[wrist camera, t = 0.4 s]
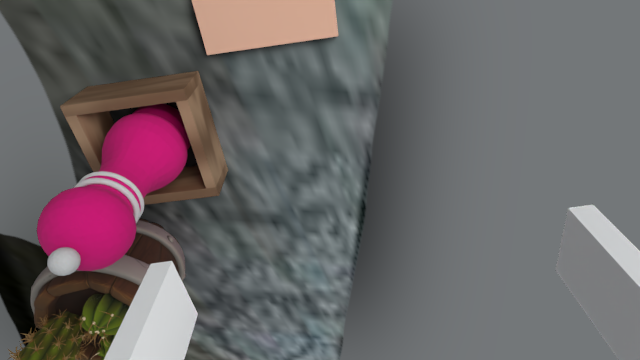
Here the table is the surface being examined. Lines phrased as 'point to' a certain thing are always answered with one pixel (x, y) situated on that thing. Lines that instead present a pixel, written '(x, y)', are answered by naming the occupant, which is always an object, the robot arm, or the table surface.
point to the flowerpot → (94, 300)
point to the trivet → (262, 22)
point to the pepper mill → (114, 192)
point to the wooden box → (185, 89)
